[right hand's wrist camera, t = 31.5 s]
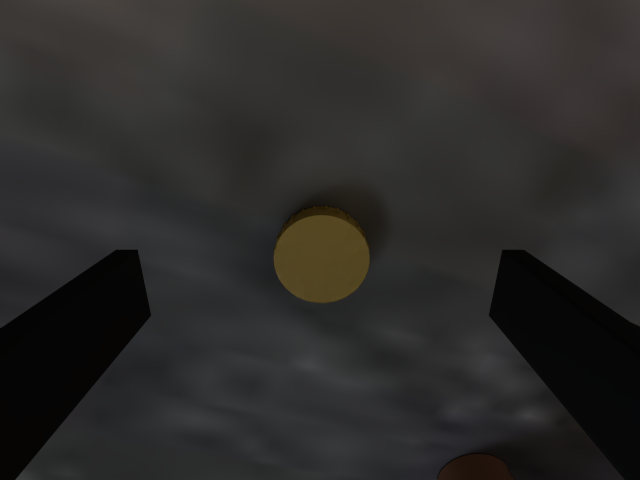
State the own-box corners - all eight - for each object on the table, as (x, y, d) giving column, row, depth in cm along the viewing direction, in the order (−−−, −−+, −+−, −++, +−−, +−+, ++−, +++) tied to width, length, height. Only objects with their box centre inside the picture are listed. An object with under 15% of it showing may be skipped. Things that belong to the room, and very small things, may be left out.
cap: (384, 233, 16) (390, 245, 15) (336, 302, 18) (338, 319, 16) (304, 187, 15) (303, 194, 14) (261, 263, 17) (255, 277, 15)
